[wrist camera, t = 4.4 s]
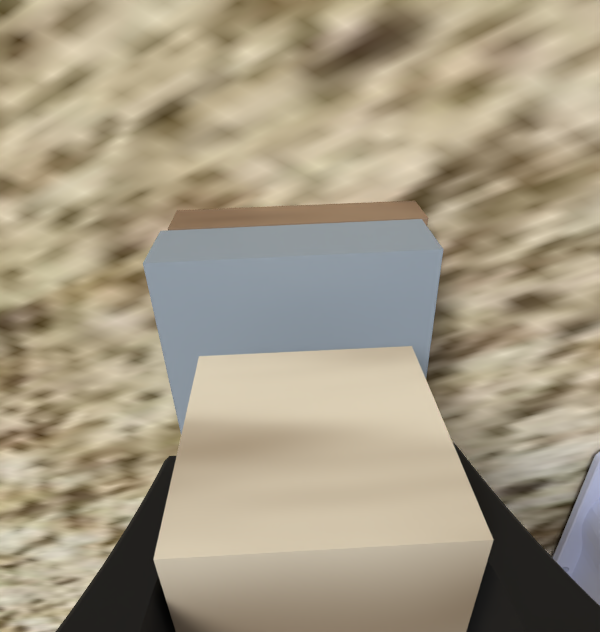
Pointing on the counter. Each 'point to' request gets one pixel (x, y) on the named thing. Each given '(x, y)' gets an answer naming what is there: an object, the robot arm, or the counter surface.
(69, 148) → the counter surface
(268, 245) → the slate slab
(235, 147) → the counter surface
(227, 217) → the walnut slab
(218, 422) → the birch block
